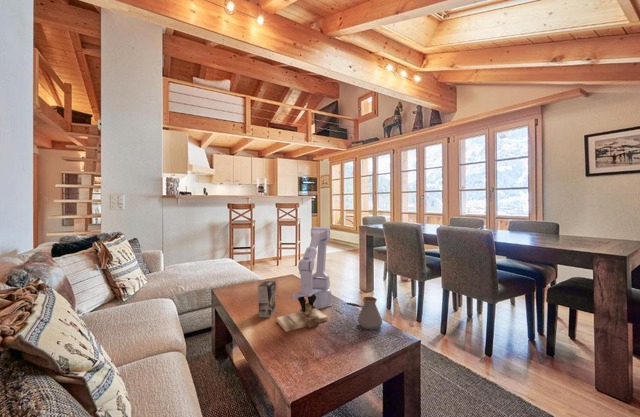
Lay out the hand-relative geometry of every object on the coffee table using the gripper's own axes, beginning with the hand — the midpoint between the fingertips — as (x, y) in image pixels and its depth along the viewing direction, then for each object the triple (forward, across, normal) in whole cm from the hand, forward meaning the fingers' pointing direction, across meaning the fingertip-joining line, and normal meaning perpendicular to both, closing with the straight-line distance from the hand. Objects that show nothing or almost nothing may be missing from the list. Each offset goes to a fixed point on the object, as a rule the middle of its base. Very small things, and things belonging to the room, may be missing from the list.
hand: (307, 310), depth 132 cm
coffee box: (+5, -14, +18) cm, 24 cm away
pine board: (+5, -2, +1) cm, 5 cm away
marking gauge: (+5, 0, -1) cm, 5 cm away
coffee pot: (+5, +18, -21) cm, 28 cm away
